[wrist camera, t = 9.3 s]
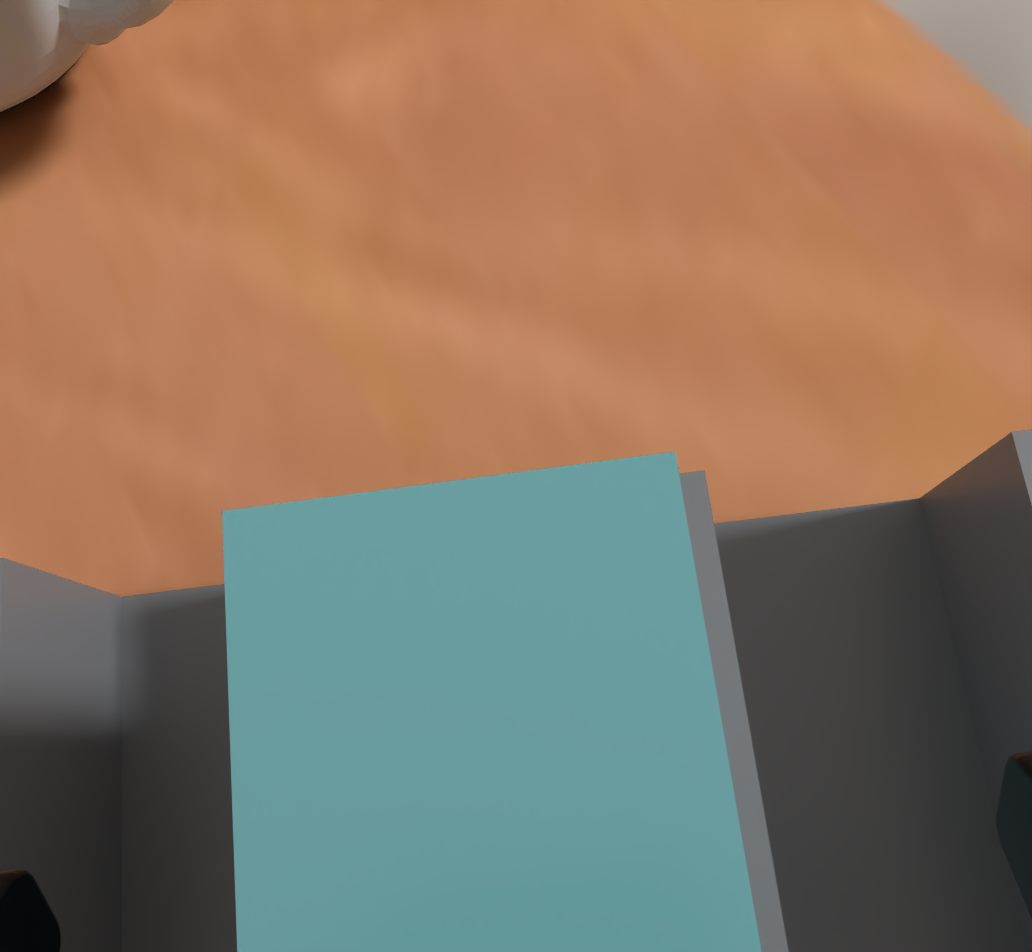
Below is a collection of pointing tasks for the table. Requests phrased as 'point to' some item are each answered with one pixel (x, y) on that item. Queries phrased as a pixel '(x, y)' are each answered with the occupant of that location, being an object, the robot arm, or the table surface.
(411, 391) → the table surface
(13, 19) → the teacup
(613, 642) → the block
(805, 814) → the rack
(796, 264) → the table surface
